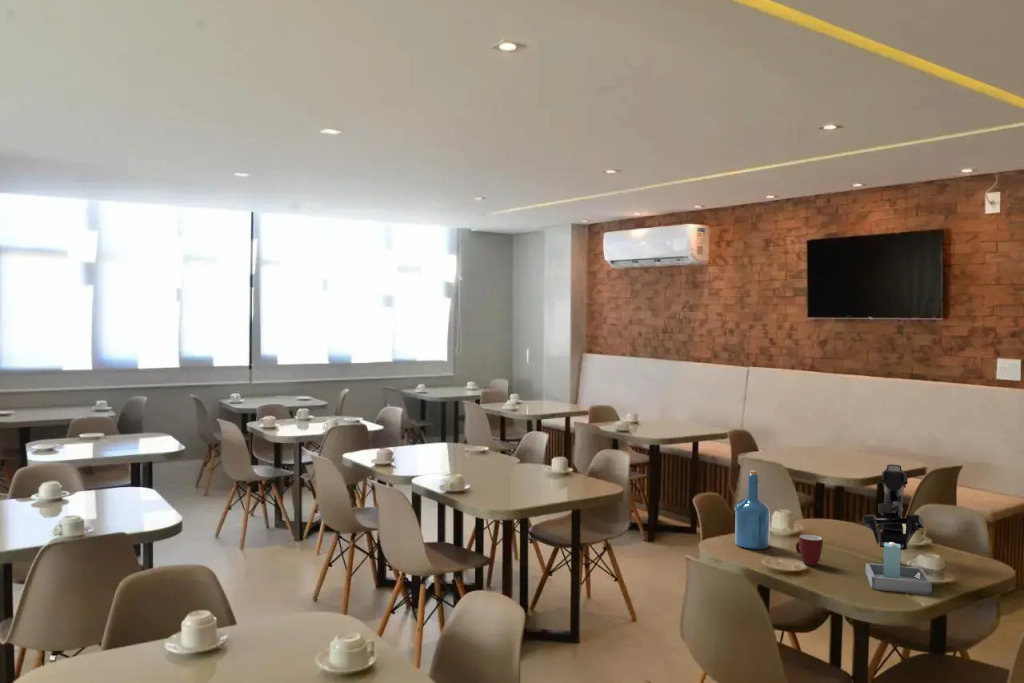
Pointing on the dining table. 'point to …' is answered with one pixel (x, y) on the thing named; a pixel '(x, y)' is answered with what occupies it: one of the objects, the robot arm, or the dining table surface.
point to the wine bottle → (752, 518)
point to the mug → (810, 548)
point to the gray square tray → (899, 580)
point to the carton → (891, 560)
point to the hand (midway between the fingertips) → (891, 544)
